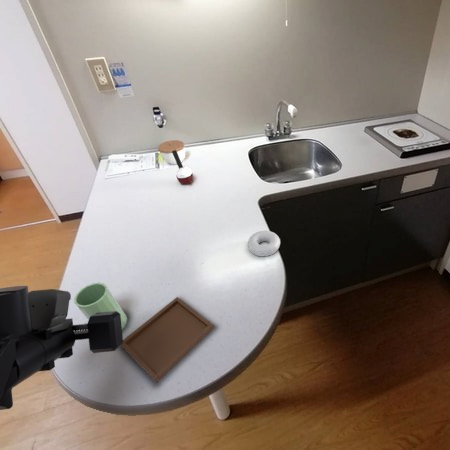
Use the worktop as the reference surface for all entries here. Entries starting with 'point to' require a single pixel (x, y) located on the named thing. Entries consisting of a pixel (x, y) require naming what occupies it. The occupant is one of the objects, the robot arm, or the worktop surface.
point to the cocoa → (182, 171)
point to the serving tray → (166, 338)
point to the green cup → (98, 301)
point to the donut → (263, 249)
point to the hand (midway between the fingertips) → (90, 319)
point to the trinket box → (170, 146)
